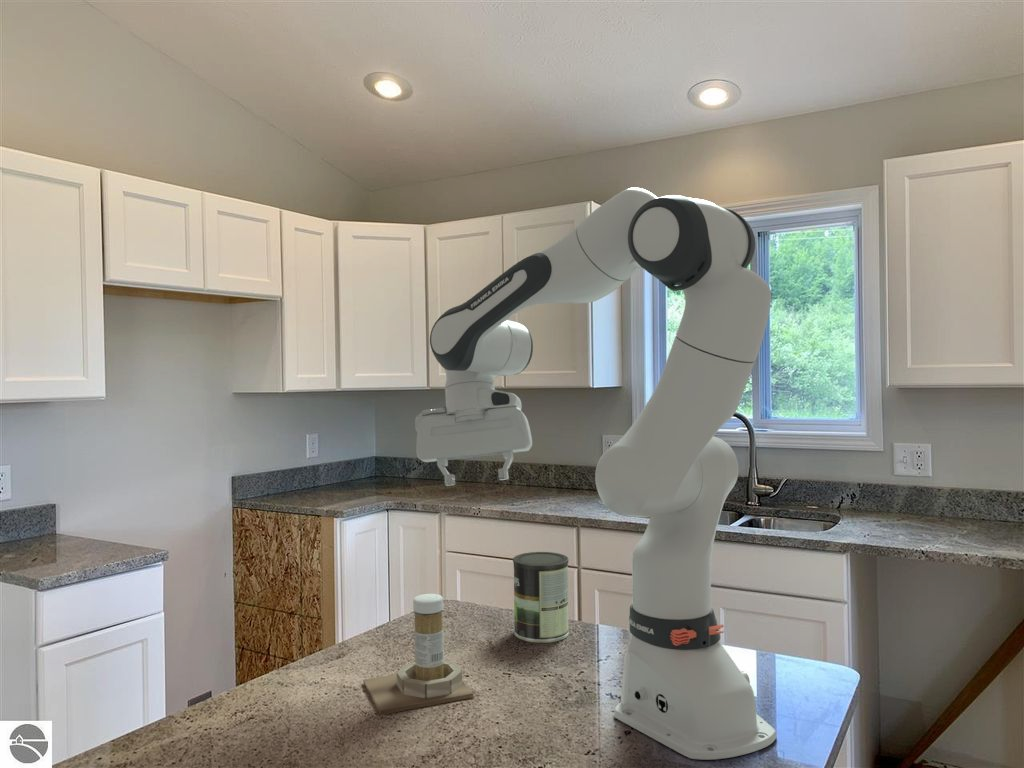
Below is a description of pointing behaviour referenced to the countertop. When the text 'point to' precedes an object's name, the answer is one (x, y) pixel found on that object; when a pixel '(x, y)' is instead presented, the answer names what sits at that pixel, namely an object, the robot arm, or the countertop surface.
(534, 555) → the coffee can
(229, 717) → the countertop surface
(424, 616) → the sprinkles bottle
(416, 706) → the socket board
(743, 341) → the robot arm
